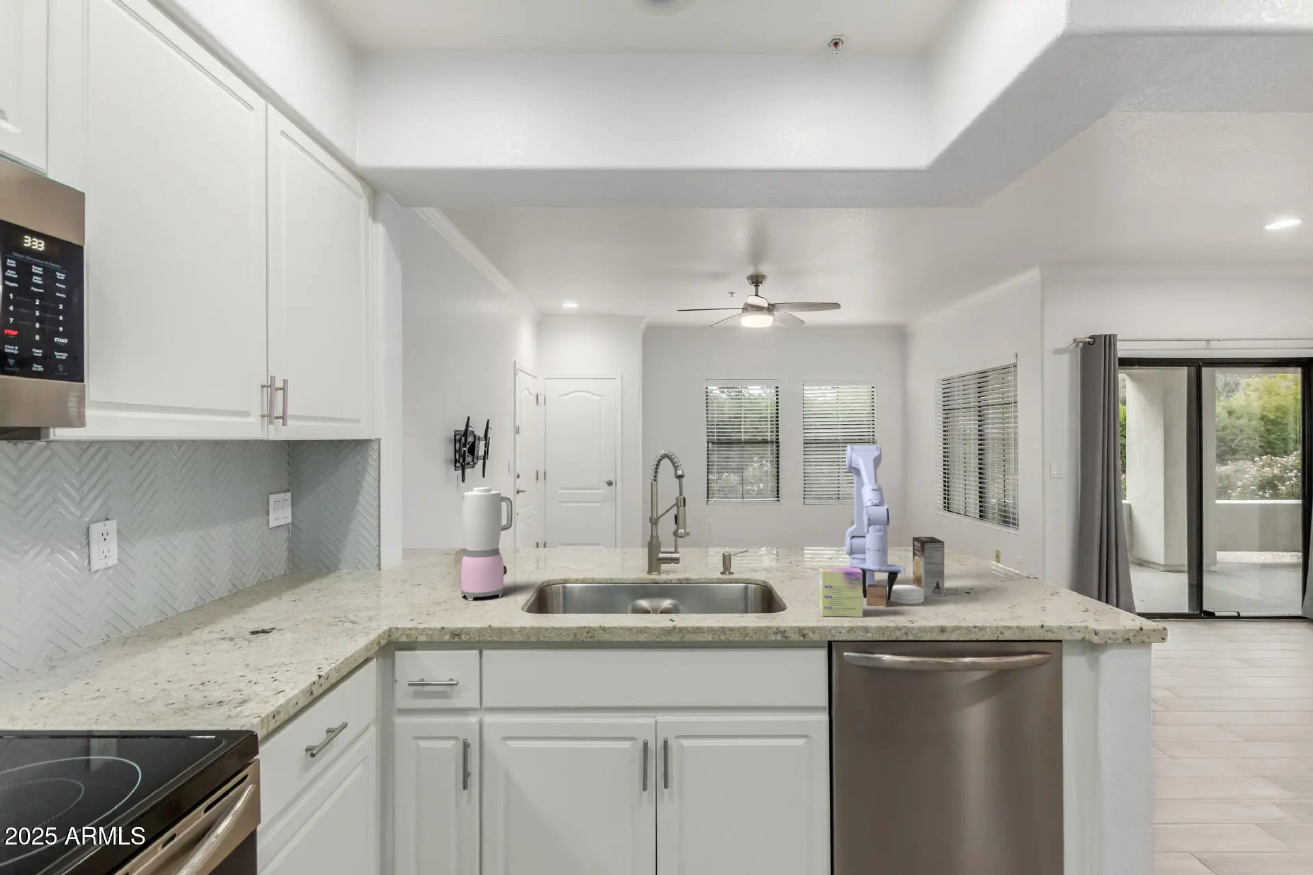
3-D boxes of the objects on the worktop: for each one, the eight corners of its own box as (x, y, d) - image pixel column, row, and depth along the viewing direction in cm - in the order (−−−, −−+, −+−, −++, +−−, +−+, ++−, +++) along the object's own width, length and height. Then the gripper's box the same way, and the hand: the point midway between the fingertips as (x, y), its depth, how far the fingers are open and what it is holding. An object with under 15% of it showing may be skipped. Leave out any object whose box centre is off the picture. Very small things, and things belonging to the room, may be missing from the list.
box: (858, 611, 175) (858, 567, 175) (863, 617, 169) (862, 571, 169) (818, 610, 176) (818, 566, 176) (821, 616, 170) (821, 570, 170)
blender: (468, 603, 187) (467, 490, 187) (455, 594, 197) (454, 487, 197) (520, 595, 196) (520, 487, 196) (505, 587, 206) (504, 485, 206)
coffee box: (911, 589, 199) (911, 536, 199) (933, 589, 199) (932, 536, 199) (923, 596, 190) (923, 541, 190) (945, 596, 190) (945, 541, 190)
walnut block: (868, 601, 185) (868, 583, 185) (887, 603, 183) (887, 585, 183) (866, 605, 181) (866, 587, 181) (885, 607, 179) (885, 589, 179)
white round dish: (886, 603, 184) (885, 590, 184) (887, 595, 193) (887, 583, 193) (924, 606, 180) (924, 593, 180) (923, 597, 190) (923, 585, 190)
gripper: (847, 549, 181) (848, 599, 181) (903, 553, 176) (904, 604, 176) (850, 545, 188) (851, 593, 188) (905, 548, 182) (905, 598, 182)
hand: (876, 598), depth 182 cm, fingers open, 6 cm apart
